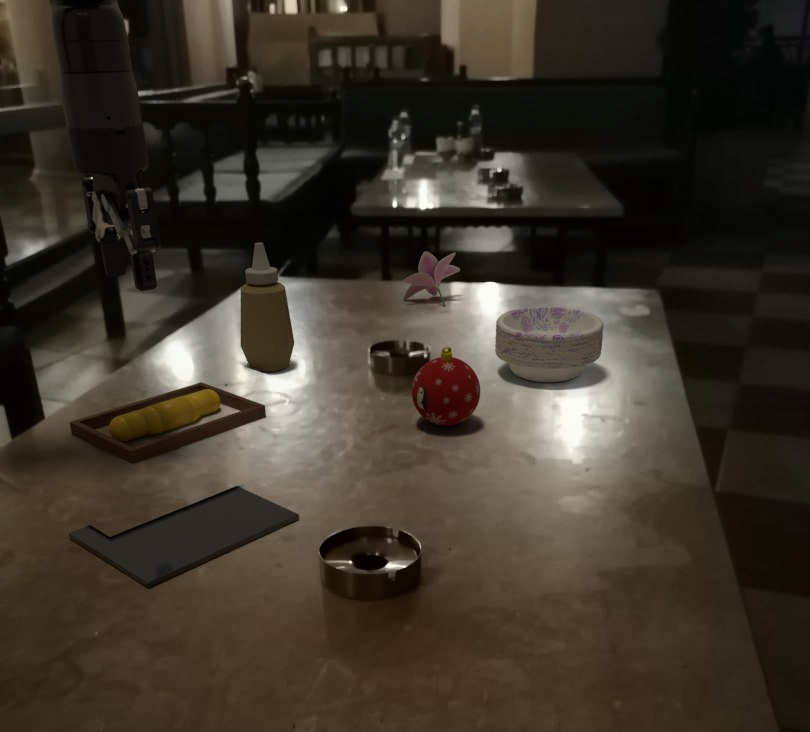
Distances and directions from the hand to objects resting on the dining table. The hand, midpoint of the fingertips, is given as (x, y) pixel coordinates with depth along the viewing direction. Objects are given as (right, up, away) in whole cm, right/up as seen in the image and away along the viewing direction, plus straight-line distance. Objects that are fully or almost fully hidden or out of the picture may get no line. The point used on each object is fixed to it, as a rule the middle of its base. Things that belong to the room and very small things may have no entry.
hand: (131, 282), depth 100 cm
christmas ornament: (+35, -14, +16) cm, 41 cm away
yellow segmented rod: (+1, -15, +13) cm, 20 cm away
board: (+8, -27, -9) cm, 30 cm away
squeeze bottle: (+10, -3, +36) cm, 38 cm away
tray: (+1, -15, +14) cm, 20 cm away
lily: (+35, +16, +69) cm, 80 cm away
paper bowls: (+51, -4, +33) cm, 61 cm away
